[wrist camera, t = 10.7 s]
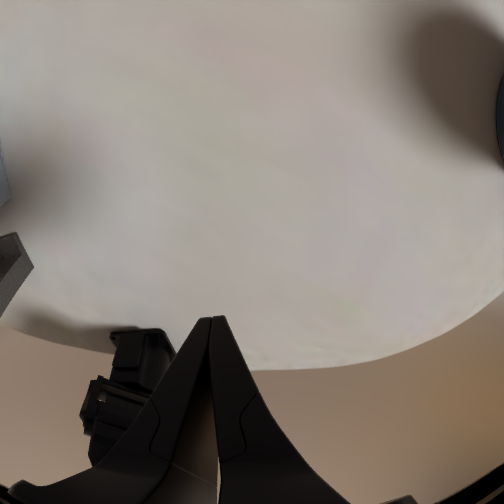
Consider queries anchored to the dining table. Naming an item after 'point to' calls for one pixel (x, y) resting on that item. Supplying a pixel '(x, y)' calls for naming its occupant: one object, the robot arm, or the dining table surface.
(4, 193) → the boxed book
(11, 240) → the bookend
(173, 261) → the dining table surface
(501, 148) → the canister
